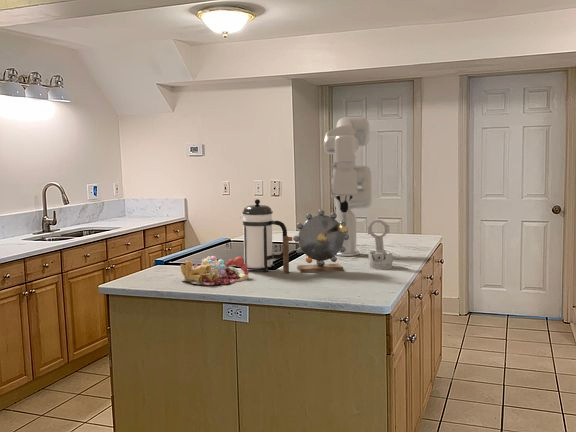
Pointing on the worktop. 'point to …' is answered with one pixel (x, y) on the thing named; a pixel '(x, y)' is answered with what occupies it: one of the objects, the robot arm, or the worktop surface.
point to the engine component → (379, 249)
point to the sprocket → (321, 237)
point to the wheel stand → (305, 267)
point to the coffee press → (259, 236)
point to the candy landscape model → (214, 271)
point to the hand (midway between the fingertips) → (344, 211)
